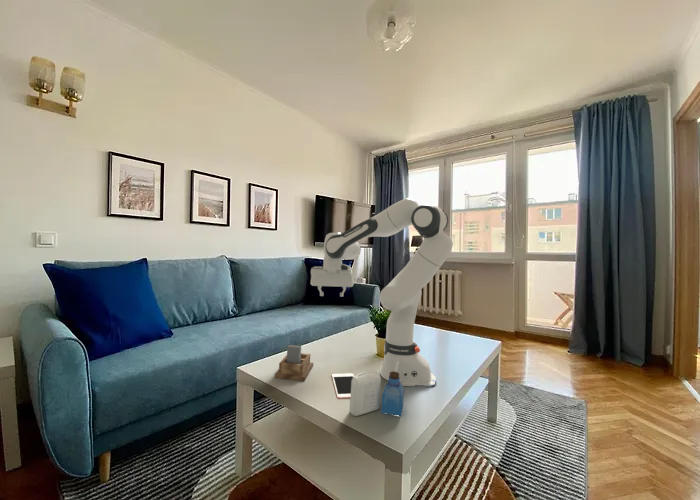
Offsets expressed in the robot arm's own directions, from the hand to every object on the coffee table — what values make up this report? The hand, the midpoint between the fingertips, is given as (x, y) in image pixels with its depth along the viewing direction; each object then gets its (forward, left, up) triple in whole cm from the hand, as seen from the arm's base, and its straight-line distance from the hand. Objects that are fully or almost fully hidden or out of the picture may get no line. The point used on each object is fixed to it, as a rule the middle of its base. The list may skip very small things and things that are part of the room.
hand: (331, 296), depth 135 cm
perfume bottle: (-28, +38, -29) cm, 56 cm away
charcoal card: (+11, +21, -27) cm, 36 cm away
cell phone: (-11, +25, -29) cm, 40 cm away
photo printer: (-19, +40, -29) cm, 53 cm away
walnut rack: (+11, +18, -29) cm, 36 cm away
